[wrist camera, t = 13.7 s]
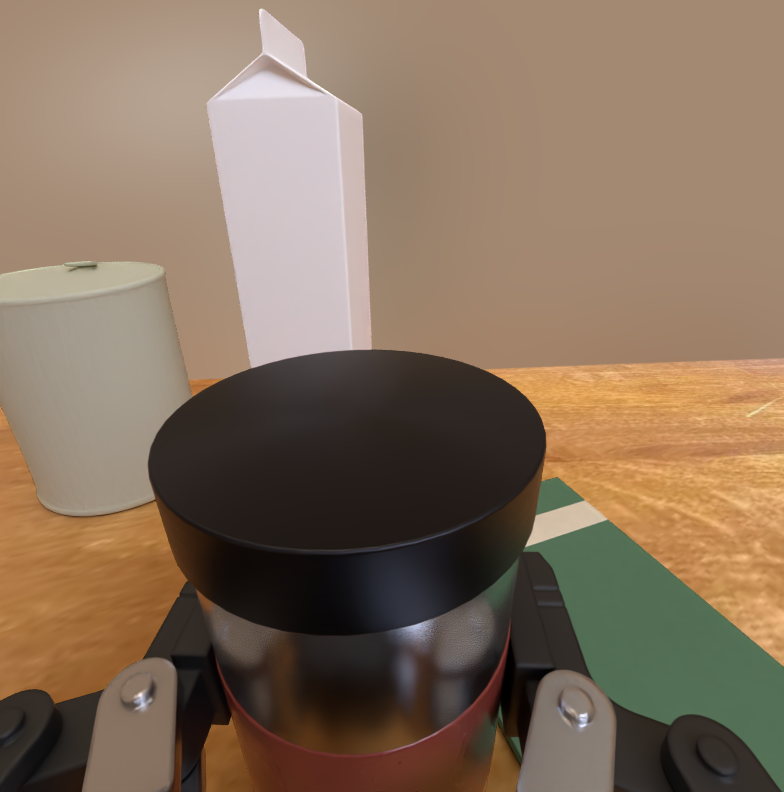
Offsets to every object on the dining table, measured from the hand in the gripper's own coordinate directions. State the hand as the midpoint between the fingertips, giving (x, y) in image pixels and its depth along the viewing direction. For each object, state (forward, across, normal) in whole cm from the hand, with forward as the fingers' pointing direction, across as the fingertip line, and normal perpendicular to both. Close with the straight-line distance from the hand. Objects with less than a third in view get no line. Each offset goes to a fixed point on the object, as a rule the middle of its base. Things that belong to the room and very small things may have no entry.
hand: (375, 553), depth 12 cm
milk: (+17, +5, +7) cm, 19 cm away
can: (+14, +16, +7) cm, 23 cm away
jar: (-2, 0, +7) cm, 7 cm away
